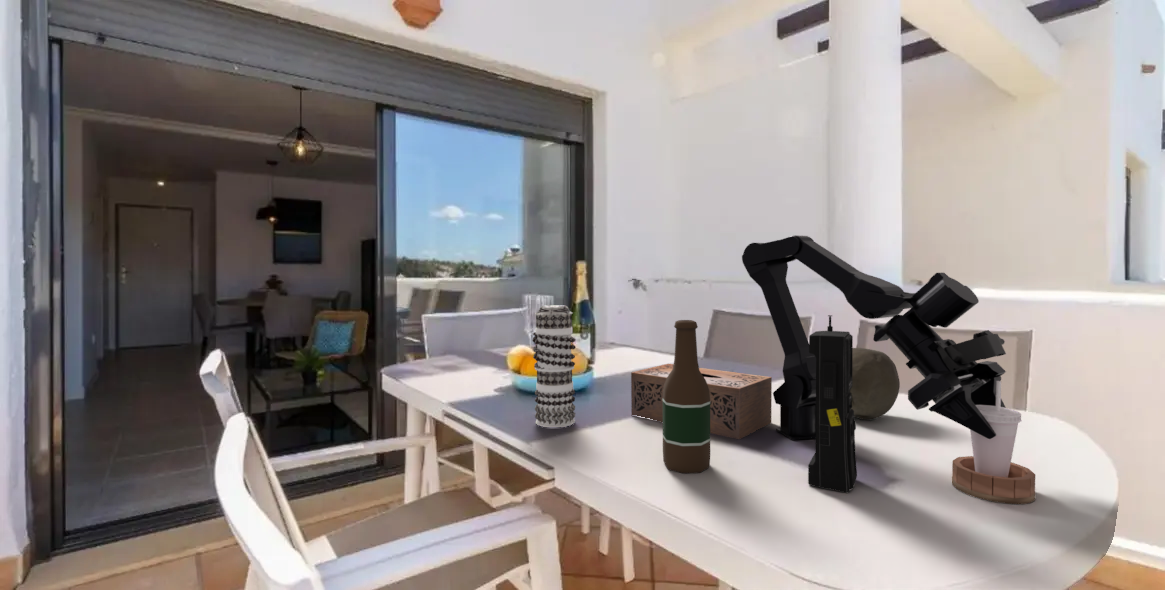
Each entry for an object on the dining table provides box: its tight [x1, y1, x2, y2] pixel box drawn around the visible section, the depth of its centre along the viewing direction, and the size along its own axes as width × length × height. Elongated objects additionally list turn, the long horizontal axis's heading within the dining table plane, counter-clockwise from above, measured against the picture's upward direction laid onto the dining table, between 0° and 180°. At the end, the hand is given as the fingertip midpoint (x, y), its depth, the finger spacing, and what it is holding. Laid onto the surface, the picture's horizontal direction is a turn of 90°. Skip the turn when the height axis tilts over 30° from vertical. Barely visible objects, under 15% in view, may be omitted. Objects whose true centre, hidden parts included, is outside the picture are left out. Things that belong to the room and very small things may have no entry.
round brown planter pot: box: [951, 455, 1036, 505], centre depth 77 cm, size 10×10×3 cm
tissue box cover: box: [630, 363, 773, 440], centre depth 116 cm, size 26×14×10 cm, turn 47°
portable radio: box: [807, 314, 858, 494], centre depth 80 cm, size 8×6×25 cm
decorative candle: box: [531, 304, 576, 428], centre depth 114 cm, size 9×9×25 cm
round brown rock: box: [850, 347, 901, 421], centre depth 116 cm, size 14×14×15 cm
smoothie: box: [969, 380, 1022, 477], centre depth 77 cm, size 6×6×14 cm
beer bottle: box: [662, 319, 711, 474], centre depth 88 cm, size 8×8×24 cm
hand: (1003, 433), depth 76 cm, fingers closed on smoothie, 6 cm apart
